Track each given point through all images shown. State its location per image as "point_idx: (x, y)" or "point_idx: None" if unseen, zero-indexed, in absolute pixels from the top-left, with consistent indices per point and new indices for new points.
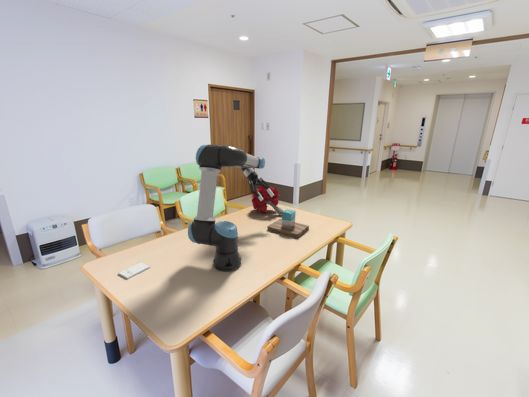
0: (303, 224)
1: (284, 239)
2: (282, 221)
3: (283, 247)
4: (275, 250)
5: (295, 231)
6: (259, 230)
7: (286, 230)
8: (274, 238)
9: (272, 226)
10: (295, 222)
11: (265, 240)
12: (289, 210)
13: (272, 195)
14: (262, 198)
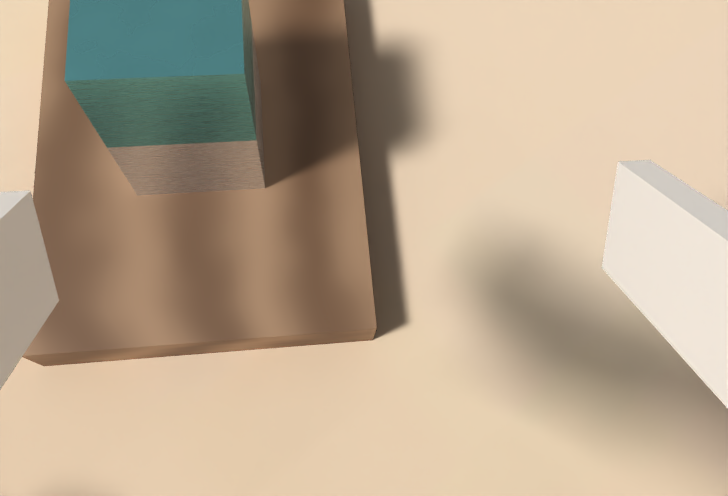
0: (51, 28)
1: (440, 72)
2: (258, 145)
3: (573, 5)
4: (663, 27)
5: (293, 7)
6: (447, 411)
7: (332, 87)
8: (492, 154)
9: (341, 272)
10: (42, 124)
11: (592, 195)
12: (104, 19)
13: (33, 247)
14: (663, 170)
